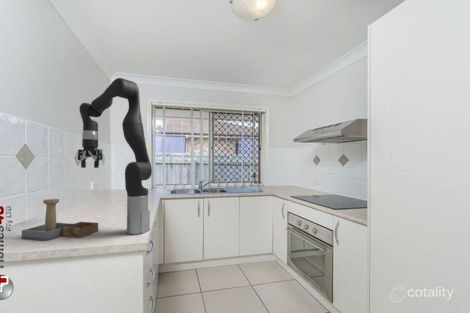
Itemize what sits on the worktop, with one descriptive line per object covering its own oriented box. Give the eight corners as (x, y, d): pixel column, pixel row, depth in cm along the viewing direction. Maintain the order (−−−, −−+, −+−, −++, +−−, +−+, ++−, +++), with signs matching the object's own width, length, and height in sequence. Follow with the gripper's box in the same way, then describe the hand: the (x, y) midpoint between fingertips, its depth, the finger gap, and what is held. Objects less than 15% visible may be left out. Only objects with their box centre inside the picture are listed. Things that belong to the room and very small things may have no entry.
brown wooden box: (98, 231, 104) (98, 222, 104) (80, 237, 95) (80, 228, 95) (80, 229, 106) (80, 221, 106) (61, 236, 97) (62, 227, 97)
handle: (51, 230, 102) (52, 198, 103) (61, 231, 100) (61, 199, 101) (39, 233, 98) (40, 200, 98) (49, 234, 96) (50, 200, 97)
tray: (75, 231, 104) (76, 223, 104) (47, 240, 91) (47, 232, 91) (52, 229, 107) (52, 222, 107) (21, 238, 94) (21, 230, 94)
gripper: (73, 138, 120) (73, 167, 119) (95, 138, 117) (95, 168, 116) (85, 140, 127) (85, 167, 127) (106, 139, 124) (106, 167, 124)
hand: (89, 167), depth 122 cm, fingers open, 8 cm apart
